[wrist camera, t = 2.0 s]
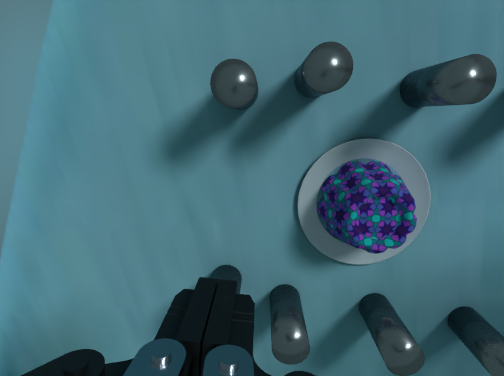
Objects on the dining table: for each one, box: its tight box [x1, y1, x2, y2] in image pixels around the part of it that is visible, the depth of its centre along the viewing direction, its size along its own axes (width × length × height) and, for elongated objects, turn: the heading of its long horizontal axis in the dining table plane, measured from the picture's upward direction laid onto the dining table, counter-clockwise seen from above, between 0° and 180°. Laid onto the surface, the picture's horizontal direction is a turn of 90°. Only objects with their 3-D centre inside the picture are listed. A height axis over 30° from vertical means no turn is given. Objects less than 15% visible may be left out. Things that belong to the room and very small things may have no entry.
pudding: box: [297, 138, 431, 265], centre depth 27 cm, size 12×12×5 cm
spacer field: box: [210, 42, 504, 376], centre depth 26 cm, size 27×25×7 cm
